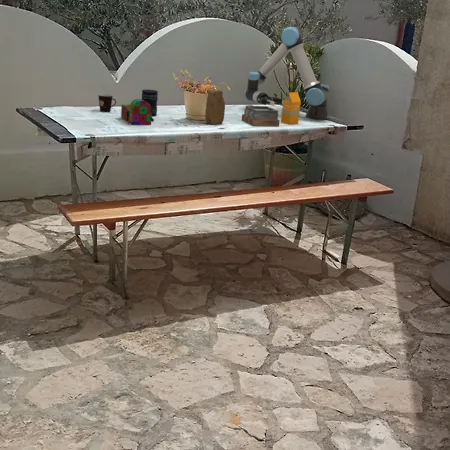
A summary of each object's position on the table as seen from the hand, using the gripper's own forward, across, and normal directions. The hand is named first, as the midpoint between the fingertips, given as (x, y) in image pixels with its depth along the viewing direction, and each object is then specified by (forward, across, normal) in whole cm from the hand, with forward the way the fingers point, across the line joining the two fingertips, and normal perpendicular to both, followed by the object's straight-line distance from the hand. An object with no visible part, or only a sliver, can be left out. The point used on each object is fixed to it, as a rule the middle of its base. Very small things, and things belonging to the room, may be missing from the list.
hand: (281, 103), depth 393 cm
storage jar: (-32, +81, -11) cm, 88 cm away
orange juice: (+10, 0, -11) cm, 15 cm away
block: (0, +53, -11) cm, 54 cm away
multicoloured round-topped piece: (-18, +96, -12) cm, 98 cm away
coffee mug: (-46, +103, -11) cm, 113 cm away
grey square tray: (+6, +22, -11) cm, 25 cm away
